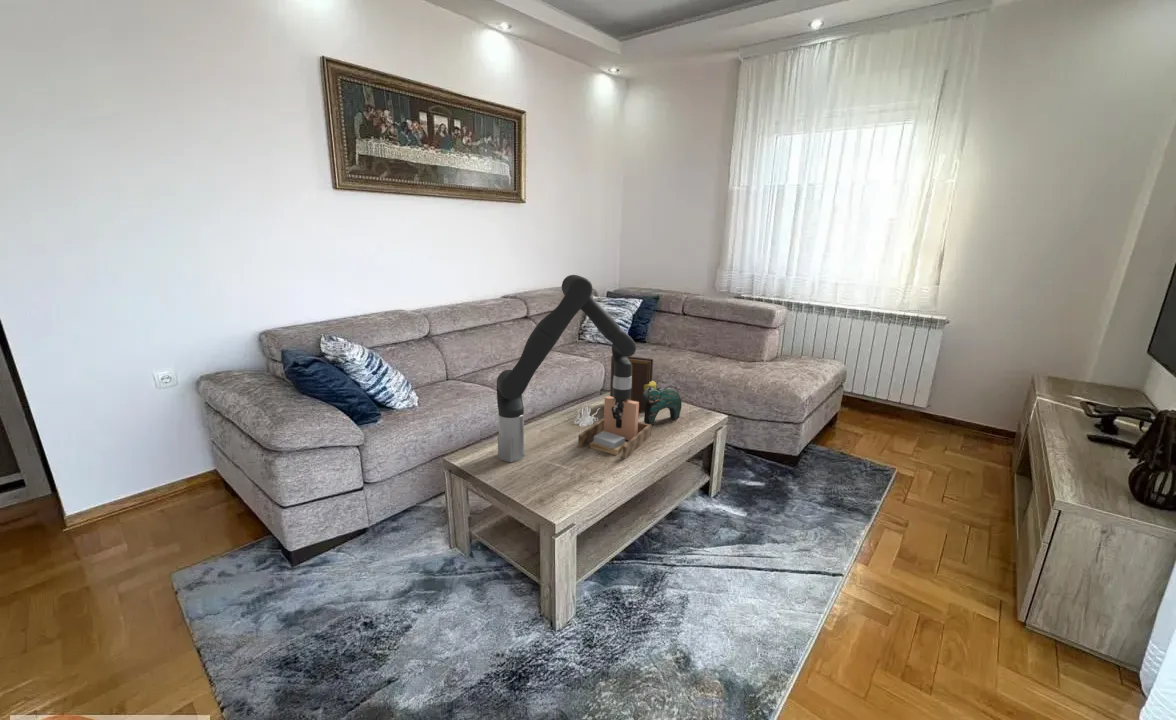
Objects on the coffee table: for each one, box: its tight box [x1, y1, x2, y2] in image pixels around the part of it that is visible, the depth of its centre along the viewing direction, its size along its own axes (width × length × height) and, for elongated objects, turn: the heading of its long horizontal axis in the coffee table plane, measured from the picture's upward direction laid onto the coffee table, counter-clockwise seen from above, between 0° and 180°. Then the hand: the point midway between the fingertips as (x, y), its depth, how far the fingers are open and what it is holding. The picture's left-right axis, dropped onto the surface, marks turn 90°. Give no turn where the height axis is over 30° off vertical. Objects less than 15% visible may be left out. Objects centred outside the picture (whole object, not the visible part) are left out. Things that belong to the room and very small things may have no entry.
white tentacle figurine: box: [573, 402, 601, 427], centre depth 218 cm, size 9×12×9 cm
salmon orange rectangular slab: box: [603, 395, 640, 441], centre depth 201 cm, size 3×14×16 cm, turn 61°
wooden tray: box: [577, 417, 653, 460], centre depth 199 cm, size 25×20×5 cm
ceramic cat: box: [643, 379, 683, 426], centre depth 218 cm, size 20×6×20 cm, turn 119°
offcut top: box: [593, 431, 626, 449], centre depth 193 cm, size 7×10×2 cm
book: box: [609, 355, 657, 412], centre depth 233 cm, size 22×8×25 cm, turn 68°
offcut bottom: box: [589, 440, 628, 456], centre depth 194 cm, size 9×12×2 cm
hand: (620, 426), depth 202 cm, fingers closed on salmon orange rectangular slab, 3 cm apart
